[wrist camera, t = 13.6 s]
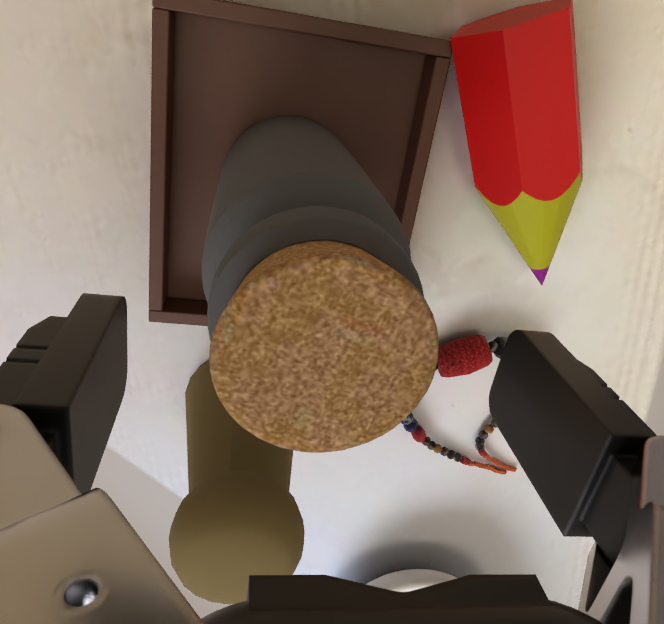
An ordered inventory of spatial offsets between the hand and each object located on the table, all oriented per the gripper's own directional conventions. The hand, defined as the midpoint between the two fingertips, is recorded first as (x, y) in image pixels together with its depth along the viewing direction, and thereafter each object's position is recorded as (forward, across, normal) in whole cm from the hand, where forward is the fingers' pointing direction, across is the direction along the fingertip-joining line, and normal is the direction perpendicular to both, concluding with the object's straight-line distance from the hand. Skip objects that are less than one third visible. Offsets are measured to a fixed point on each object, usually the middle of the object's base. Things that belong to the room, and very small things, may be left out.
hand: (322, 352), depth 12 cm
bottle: (+15, 0, 0) cm, 15 cm away
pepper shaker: (+15, +1, +12) cm, 20 cm away
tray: (+15, 0, 0) cm, 15 cm away
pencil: (+15, -10, -2) cm, 19 cm away
